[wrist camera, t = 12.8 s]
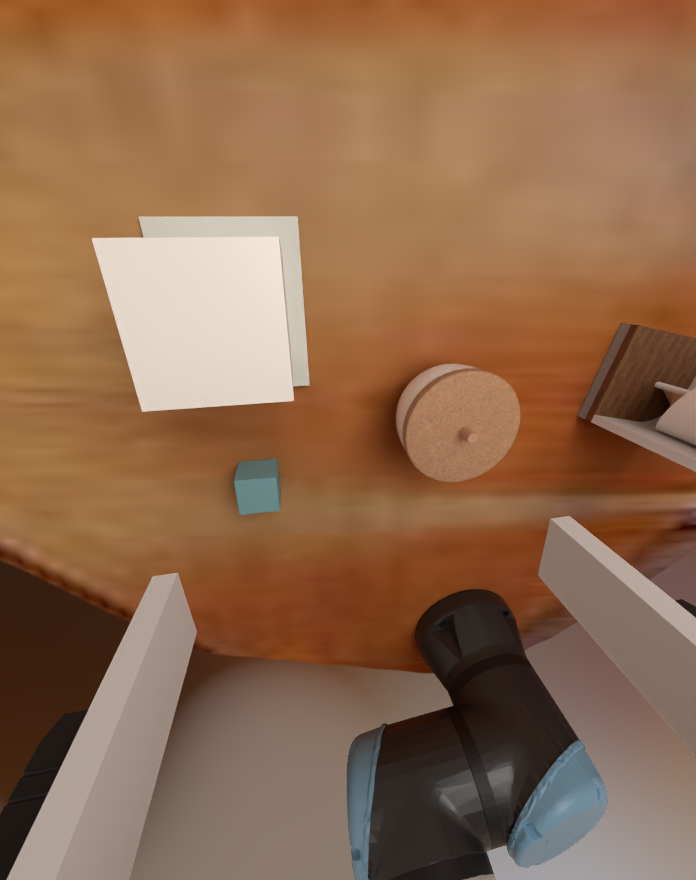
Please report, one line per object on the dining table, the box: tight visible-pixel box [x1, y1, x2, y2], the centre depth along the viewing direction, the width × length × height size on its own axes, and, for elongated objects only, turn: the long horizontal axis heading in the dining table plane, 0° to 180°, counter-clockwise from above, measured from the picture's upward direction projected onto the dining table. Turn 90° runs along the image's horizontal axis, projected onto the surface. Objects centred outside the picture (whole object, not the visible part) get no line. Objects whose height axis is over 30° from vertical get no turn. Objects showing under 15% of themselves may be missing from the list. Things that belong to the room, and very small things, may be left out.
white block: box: [92, 237, 294, 412], centre depth 25 cm, size 9×9×12 cm
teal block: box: [234, 459, 281, 515], centre depth 36 cm, size 4×4×4 cm
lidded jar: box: [396, 364, 520, 482], centre depth 33 cm, size 11×11×9 cm
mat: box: [139, 217, 309, 386], centre depth 30 cm, size 14×12×1 cm
